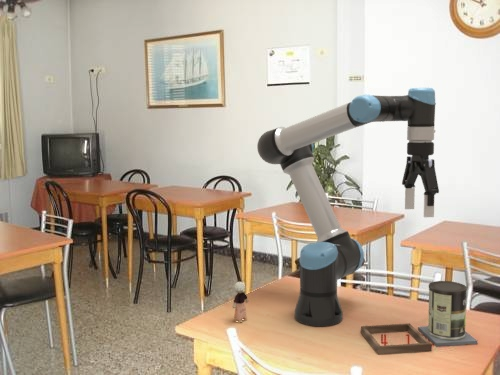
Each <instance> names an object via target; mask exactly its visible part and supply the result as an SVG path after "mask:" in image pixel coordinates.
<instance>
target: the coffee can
mask: <svg viewBox="0 0 500 375" xmlns="http://www.w3.org/2000/svg"><path fill="white" fill-rule="evenodd" d="M428 290H429V291H428V325H427V326H428V332H429V334H430V335H432V336H434V337H437V338H440V339H446V340H458V339H462V338H464V337H465V331H466V318H467V317H466V314H467V291H468V287H467V286H466V285H465V284H463V283H460V282H455V281H449V280H437V281H436V280H435V281H432V282H430V283H429V284H428Z"/></svg>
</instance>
